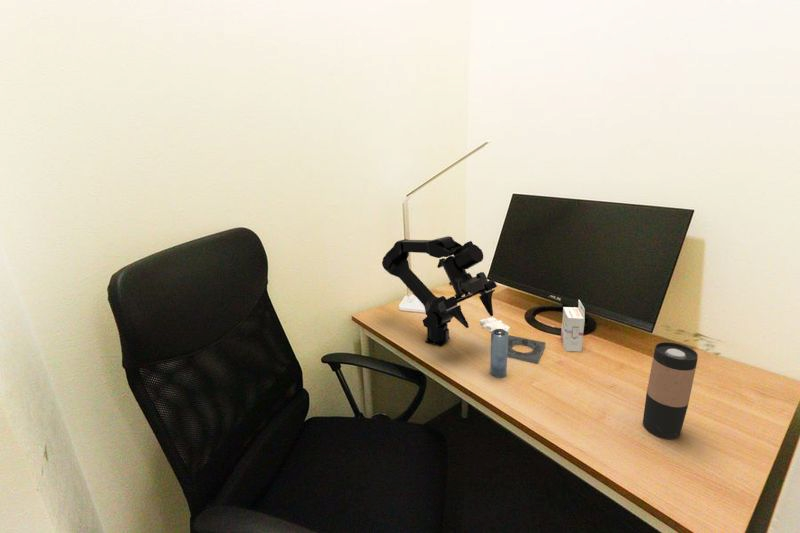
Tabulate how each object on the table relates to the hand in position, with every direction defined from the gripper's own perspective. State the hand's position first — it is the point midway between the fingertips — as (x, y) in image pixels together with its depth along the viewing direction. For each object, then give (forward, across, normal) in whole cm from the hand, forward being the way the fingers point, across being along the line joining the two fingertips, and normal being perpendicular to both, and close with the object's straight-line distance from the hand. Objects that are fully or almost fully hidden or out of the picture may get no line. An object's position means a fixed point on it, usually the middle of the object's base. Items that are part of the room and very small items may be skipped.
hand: (480, 321), depth 113 cm
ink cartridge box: (+20, +28, +3) cm, 34 cm away
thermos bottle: (+15, -2, 0) cm, 16 cm away
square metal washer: (+14, +13, +6) cm, 20 cm away
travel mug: (+38, +14, -28) cm, 49 cm away
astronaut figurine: (+6, +16, +21) cm, 27 cm away
